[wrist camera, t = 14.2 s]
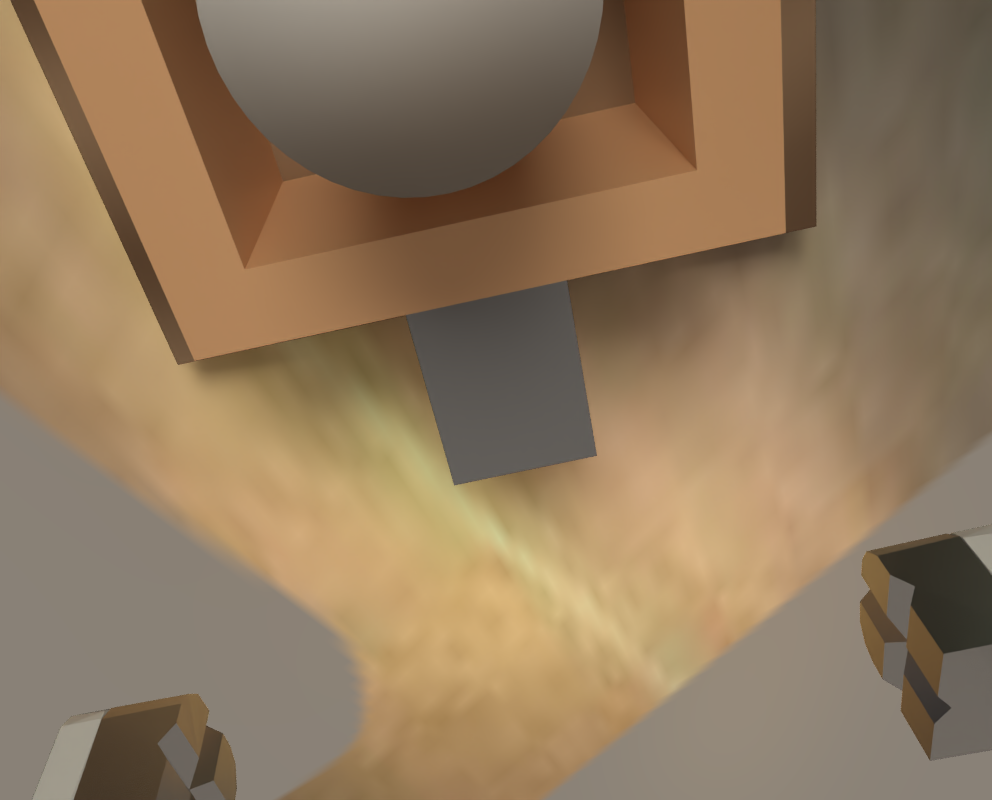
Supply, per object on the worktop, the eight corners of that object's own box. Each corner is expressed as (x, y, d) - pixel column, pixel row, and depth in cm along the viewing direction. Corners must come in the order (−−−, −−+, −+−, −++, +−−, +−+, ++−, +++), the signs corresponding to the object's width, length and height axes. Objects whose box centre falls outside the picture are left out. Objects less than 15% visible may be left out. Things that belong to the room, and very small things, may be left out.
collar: (10, -347, 14) (-161, -436, 10) (660, -511, 14) (765, -676, 10) (296, 399, 22) (267, 524, 18) (717, 309, 22) (790, 415, 18)
